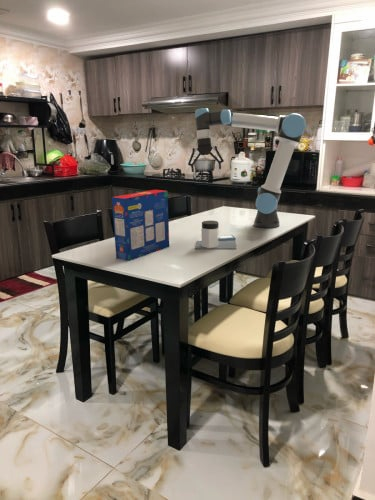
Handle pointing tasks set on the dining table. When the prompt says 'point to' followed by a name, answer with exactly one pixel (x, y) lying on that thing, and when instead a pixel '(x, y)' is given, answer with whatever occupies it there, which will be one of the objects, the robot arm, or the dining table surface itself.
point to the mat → (221, 245)
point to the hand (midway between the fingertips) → (206, 176)
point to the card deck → (226, 238)
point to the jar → (210, 234)
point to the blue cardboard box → (140, 223)
